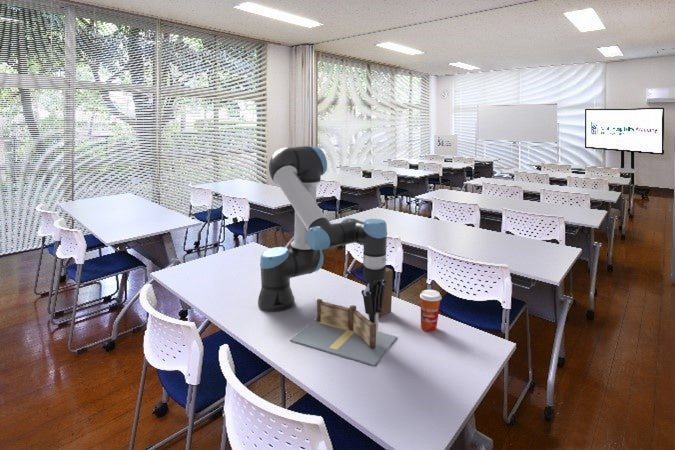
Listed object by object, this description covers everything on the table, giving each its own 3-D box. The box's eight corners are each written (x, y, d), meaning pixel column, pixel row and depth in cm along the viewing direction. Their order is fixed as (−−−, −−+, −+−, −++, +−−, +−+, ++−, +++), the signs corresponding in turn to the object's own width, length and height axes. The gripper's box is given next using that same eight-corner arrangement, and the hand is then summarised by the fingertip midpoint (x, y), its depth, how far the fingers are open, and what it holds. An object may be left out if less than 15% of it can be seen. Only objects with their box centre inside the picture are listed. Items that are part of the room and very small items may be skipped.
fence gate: (352, 330, 150) (352, 310, 148) (357, 329, 150) (357, 309, 149) (371, 348, 138) (372, 327, 136) (376, 347, 139) (377, 325, 137)
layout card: (289, 341, 144) (289, 339, 144) (319, 317, 161) (319, 316, 161) (374, 366, 130) (374, 364, 130) (396, 337, 147) (396, 336, 147)
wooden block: (374, 318, 161) (375, 274, 157) (367, 313, 165) (367, 271, 160) (391, 312, 166) (393, 269, 162) (384, 308, 170) (385, 266, 165)
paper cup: (416, 331, 151) (418, 295, 148) (420, 321, 158) (422, 287, 155) (437, 335, 148) (440, 299, 145) (441, 325, 155) (443, 291, 152)
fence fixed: (315, 321, 157) (315, 299, 155) (319, 318, 159) (318, 297, 157) (354, 331, 150) (354, 308, 148) (357, 328, 152) (357, 306, 150)
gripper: (374, 274, 130) (373, 341, 136) (393, 262, 140) (392, 325, 146) (354, 269, 134) (354, 334, 140) (374, 258, 145) (373, 319, 151)
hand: (373, 329), depth 143 cm, fingers closed
